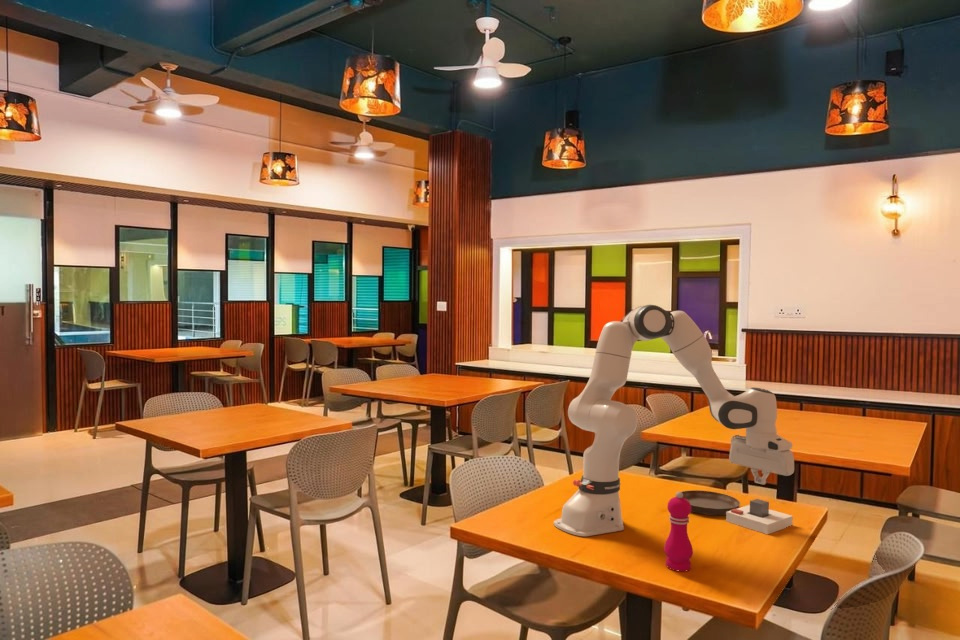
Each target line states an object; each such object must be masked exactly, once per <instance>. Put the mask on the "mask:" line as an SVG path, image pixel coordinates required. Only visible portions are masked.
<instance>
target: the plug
mask: <svg viewBox="0 0 960 640" xmlns="http://www.w3.org/2000/svg"><path fill="white" fill-rule="evenodd" d="M749 505H750V514H751V515H754V516H757V517H761V518H764V517H767V516H769V508H770V502H769V501H766V500H764V499H760V498H755V499H752V500H749Z"/></svg>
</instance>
